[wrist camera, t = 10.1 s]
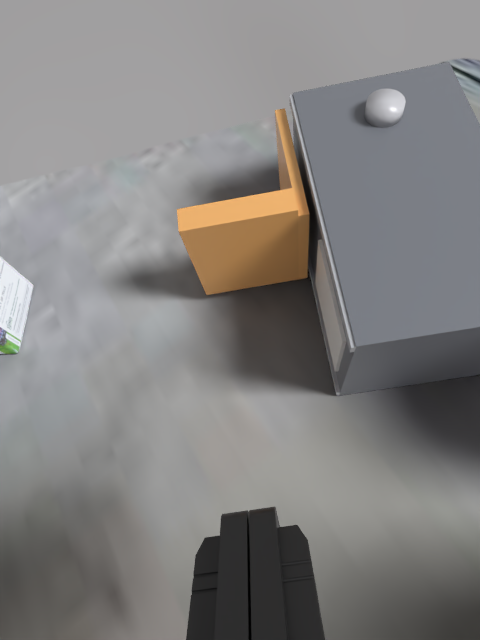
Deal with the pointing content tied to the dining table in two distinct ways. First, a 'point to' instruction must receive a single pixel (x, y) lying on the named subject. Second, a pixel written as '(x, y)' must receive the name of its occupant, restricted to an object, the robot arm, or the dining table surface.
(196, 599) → the robot arm
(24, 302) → the syrup box
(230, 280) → the orange l-shaped bracket
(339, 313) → the block
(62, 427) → the dining table surface
